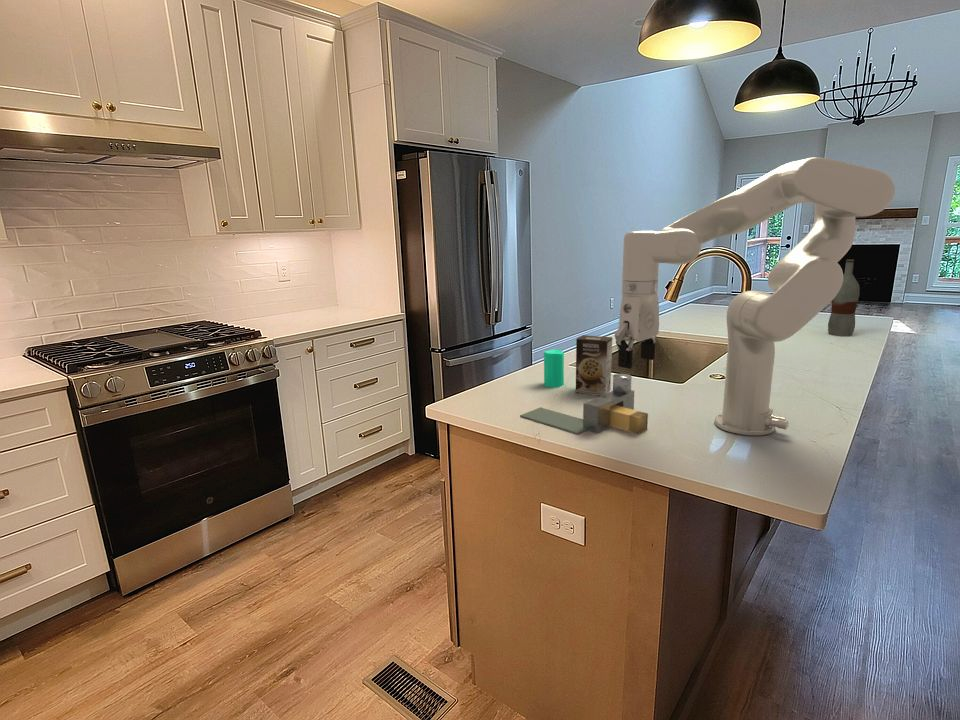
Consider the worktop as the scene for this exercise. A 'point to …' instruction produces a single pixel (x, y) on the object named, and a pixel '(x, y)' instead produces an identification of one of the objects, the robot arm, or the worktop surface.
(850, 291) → the bottle
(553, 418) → the mat
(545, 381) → the candle
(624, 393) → the housing
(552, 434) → the worktop surface
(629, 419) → the yellow rectangular block
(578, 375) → the coffee box
